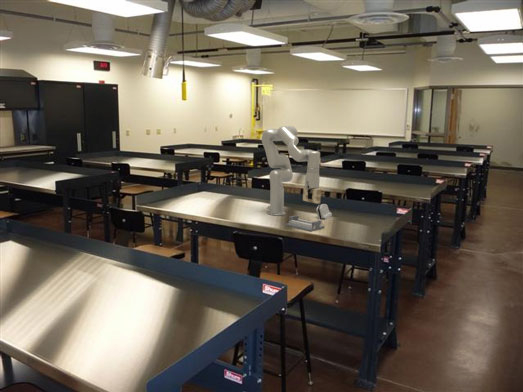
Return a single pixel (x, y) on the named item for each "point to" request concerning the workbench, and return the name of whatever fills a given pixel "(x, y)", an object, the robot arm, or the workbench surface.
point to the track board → (304, 224)
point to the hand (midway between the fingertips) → (311, 198)
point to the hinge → (323, 211)
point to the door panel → (315, 195)
